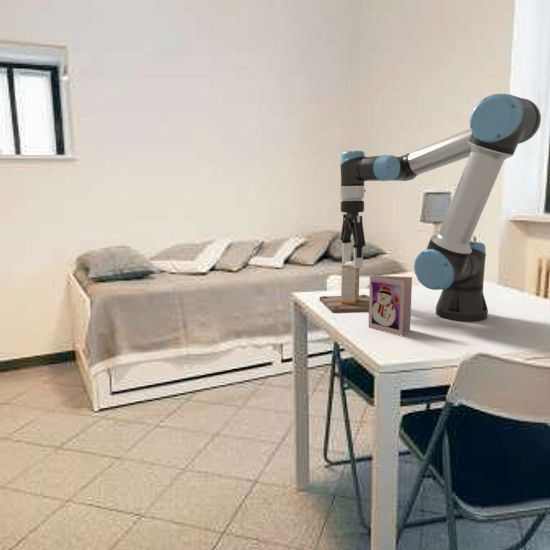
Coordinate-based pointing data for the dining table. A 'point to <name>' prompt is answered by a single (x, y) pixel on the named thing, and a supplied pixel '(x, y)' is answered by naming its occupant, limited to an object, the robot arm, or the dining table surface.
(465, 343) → the dining table surface
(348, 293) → the supplement box
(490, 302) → the dining table surface
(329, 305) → the plate
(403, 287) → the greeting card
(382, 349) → the dining table surface
